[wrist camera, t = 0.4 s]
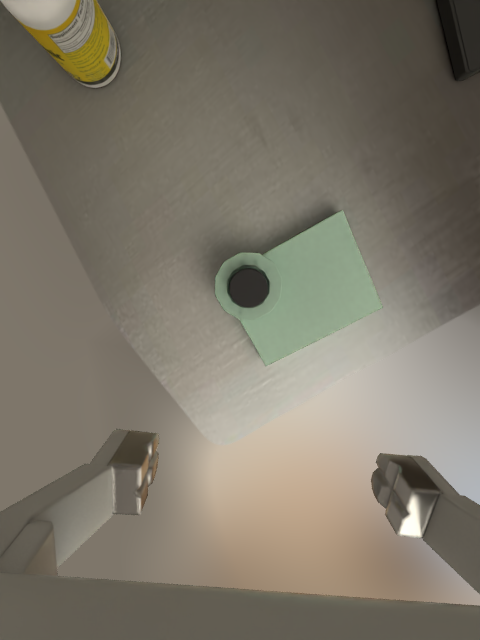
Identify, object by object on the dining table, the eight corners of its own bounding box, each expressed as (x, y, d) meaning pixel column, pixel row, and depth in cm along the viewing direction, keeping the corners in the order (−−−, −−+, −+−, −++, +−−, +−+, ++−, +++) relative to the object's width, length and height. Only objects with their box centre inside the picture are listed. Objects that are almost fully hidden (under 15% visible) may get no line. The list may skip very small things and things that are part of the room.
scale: (206, 271, 27) (202, 273, 24) (332, 200, 26) (344, 193, 23) (259, 364, 30) (261, 376, 27) (376, 305, 28) (392, 310, 25)
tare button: (223, 279, 25) (222, 280, 23) (255, 261, 24) (256, 261, 23) (240, 310, 26) (240, 314, 24) (272, 293, 25) (274, 296, 24)
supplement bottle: (48, 38, 22) (-94, -126, 13) (99, 2, 22) (-10, -197, 12) (85, 103, 23) (-21, -2, 14) (134, 70, 23) (60, -62, 13)
